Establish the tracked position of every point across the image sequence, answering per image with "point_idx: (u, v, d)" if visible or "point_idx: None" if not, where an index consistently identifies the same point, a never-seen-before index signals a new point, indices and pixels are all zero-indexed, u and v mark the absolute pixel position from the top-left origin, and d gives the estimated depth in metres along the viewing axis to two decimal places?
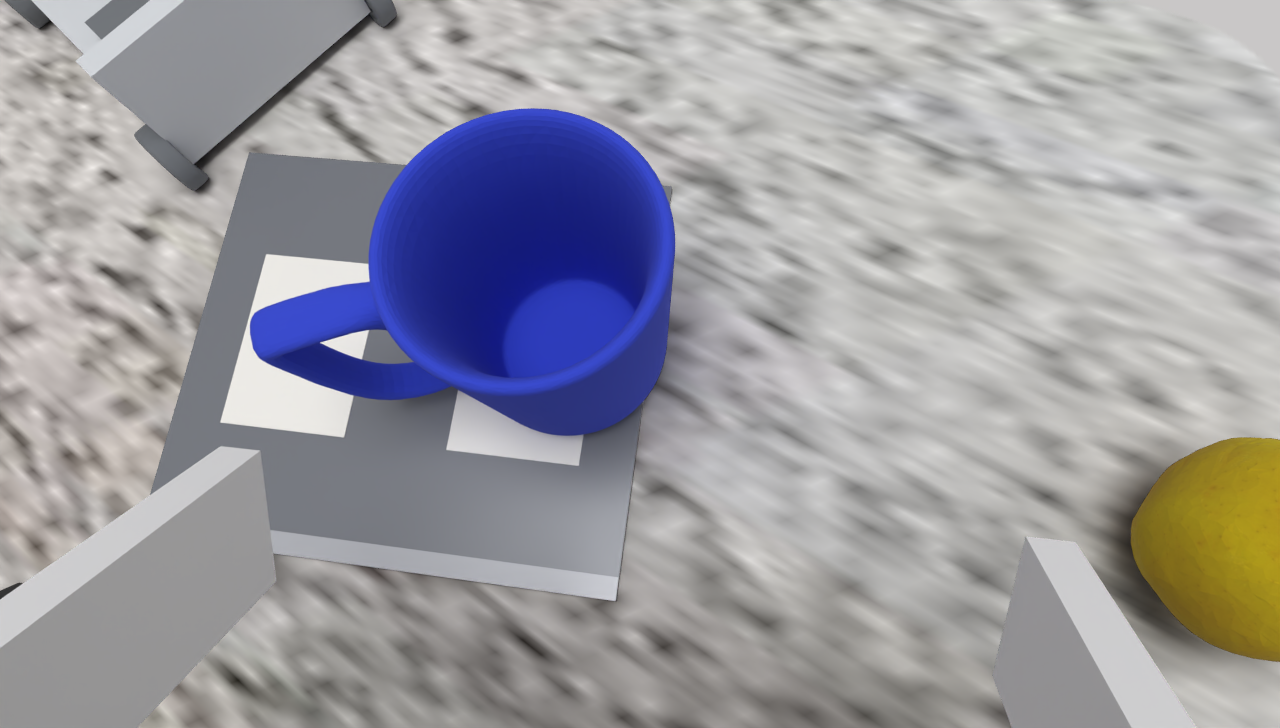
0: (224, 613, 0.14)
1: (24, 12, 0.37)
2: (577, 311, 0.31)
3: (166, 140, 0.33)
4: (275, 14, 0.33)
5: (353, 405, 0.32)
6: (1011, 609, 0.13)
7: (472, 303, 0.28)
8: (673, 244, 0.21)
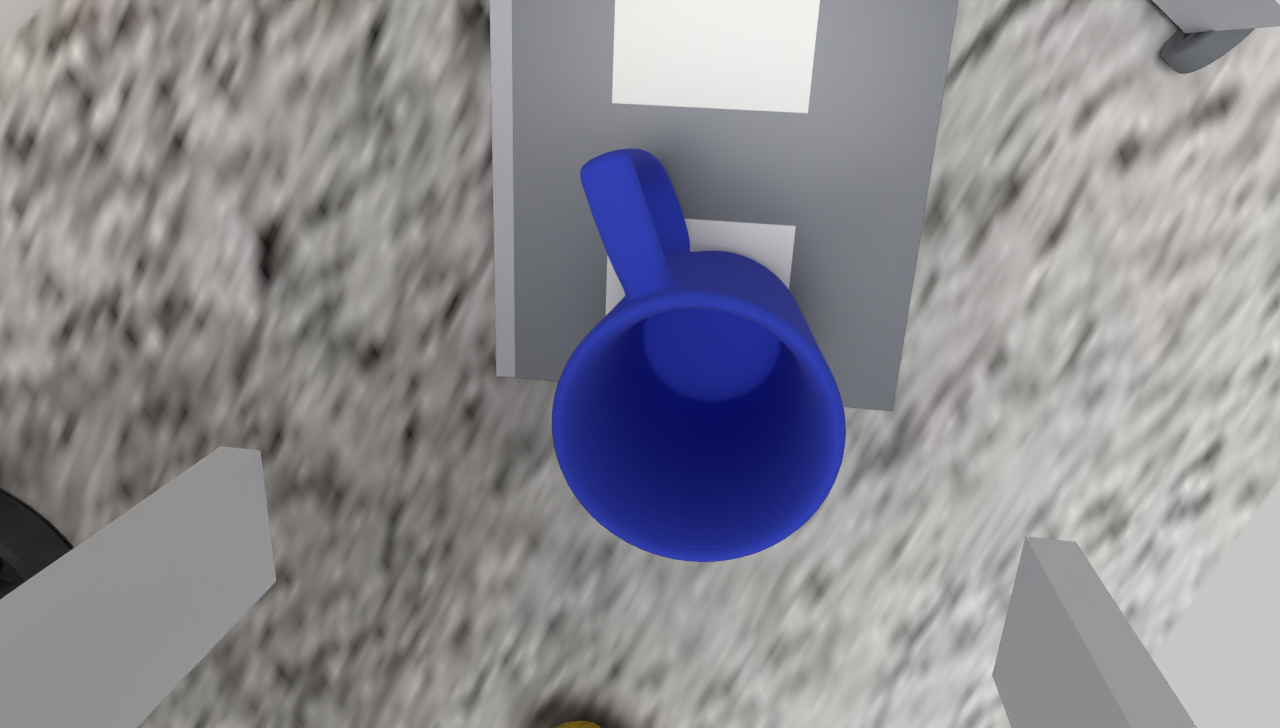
0: (224, 613, 0.14)
1: None
2: (747, 338, 0.31)
3: None
4: None
5: (647, 104, 0.30)
6: (1011, 609, 0.13)
7: None
8: (698, 561, 0.24)
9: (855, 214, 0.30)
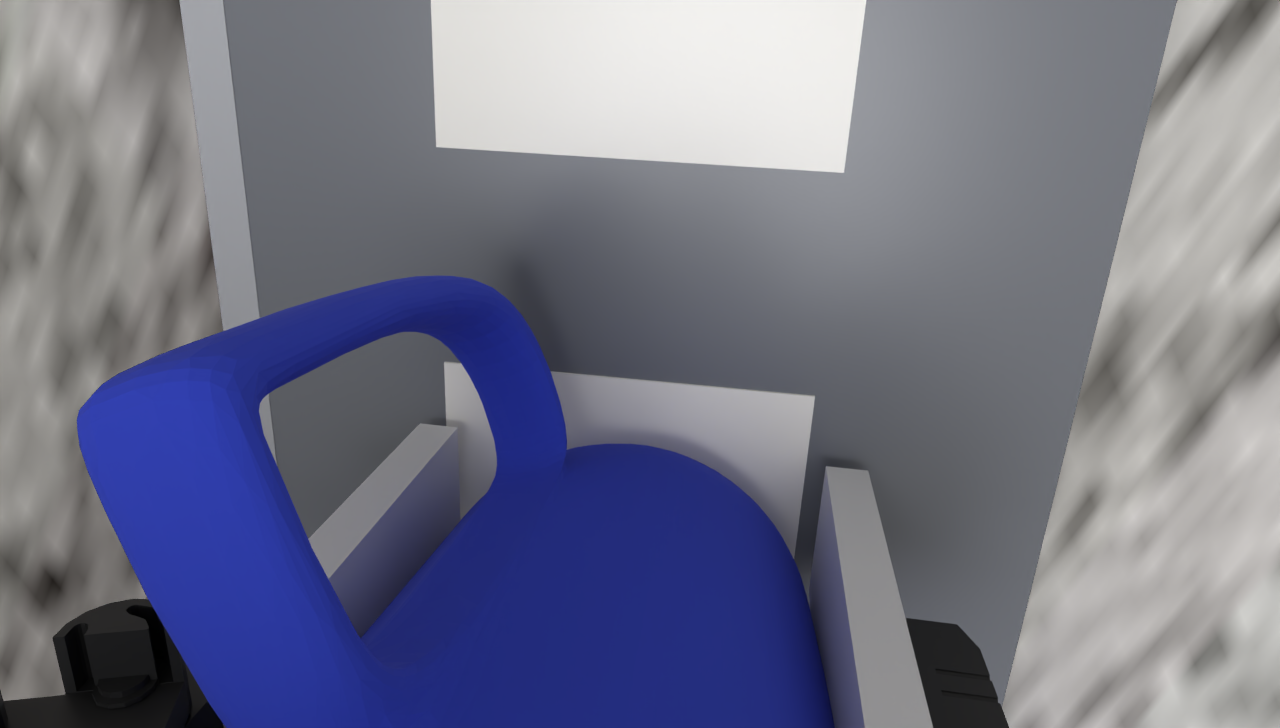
0: None
1: None
2: None
3: None
4: None
5: (511, 150, 0.15)
6: (817, 531, 0.15)
7: None
8: None
9: (938, 377, 0.15)
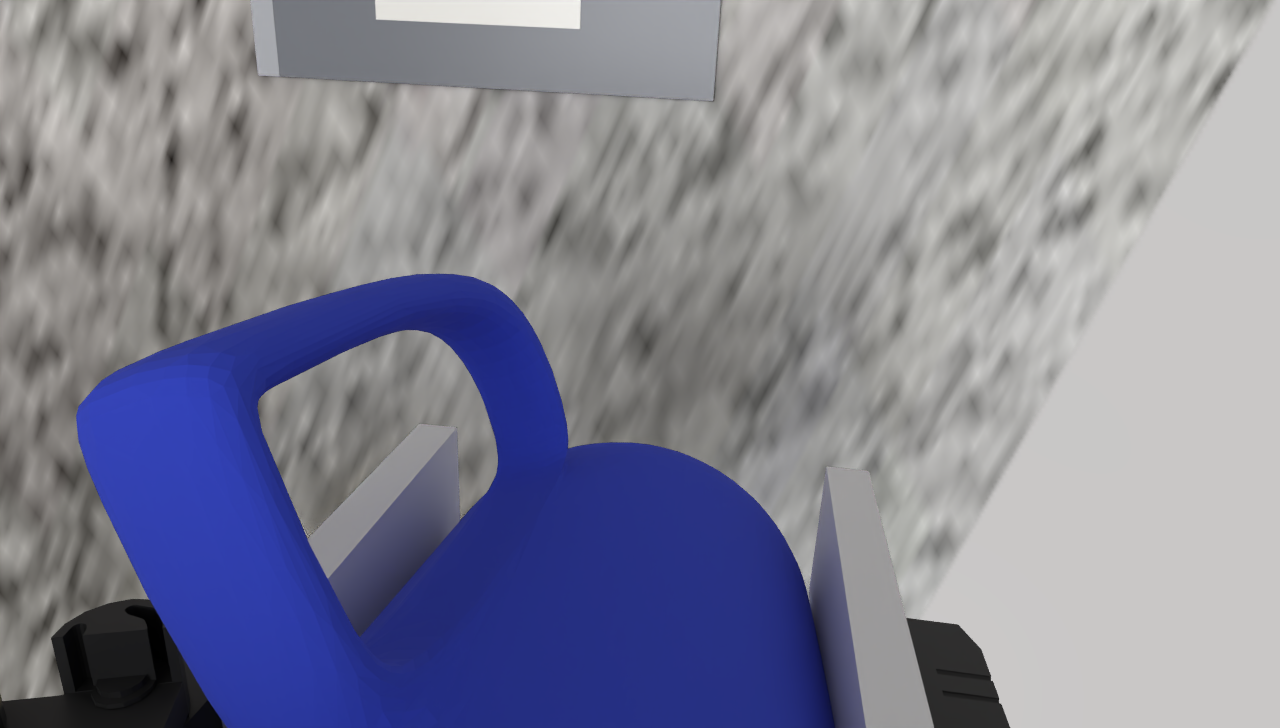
0: None
1: None
2: None
3: None
4: None
5: None
6: (818, 531, 0.15)
7: None
8: None
9: None
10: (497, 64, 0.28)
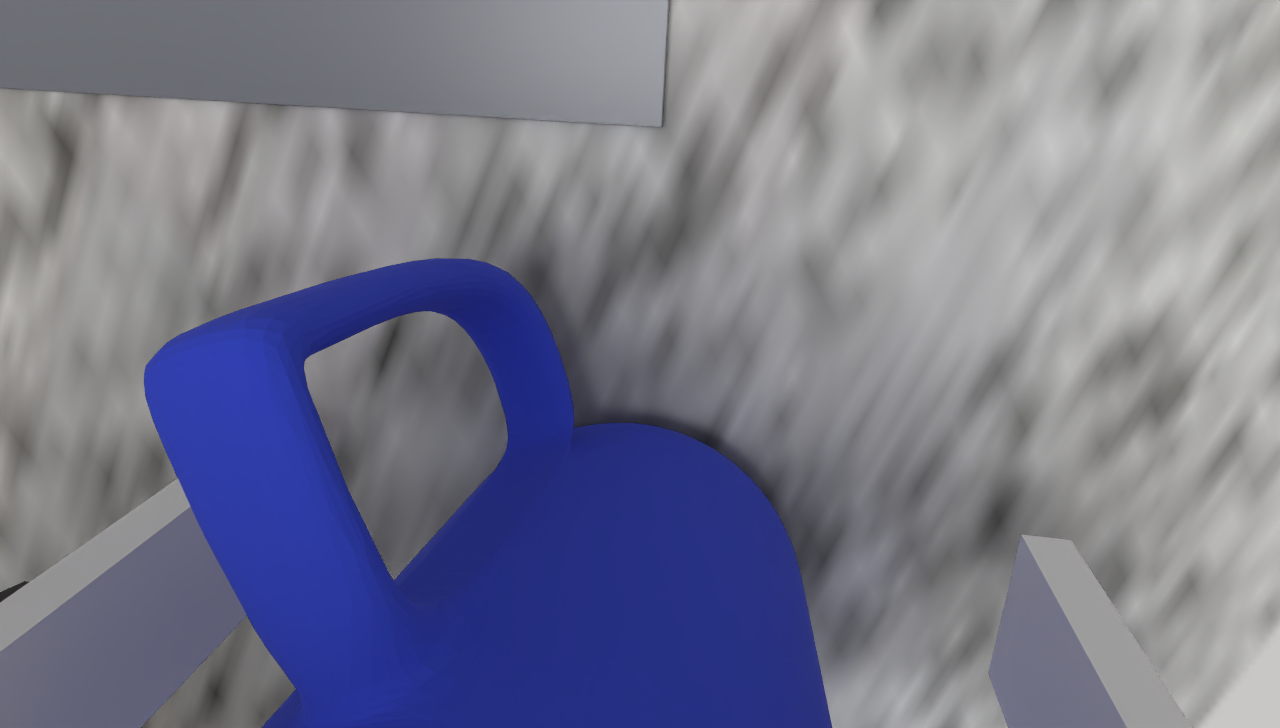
0: (229, 612, 0.14)
1: None
2: None
3: None
4: None
5: None
6: (1007, 607, 0.13)
7: None
8: None
9: None
10: (264, 59, 0.15)
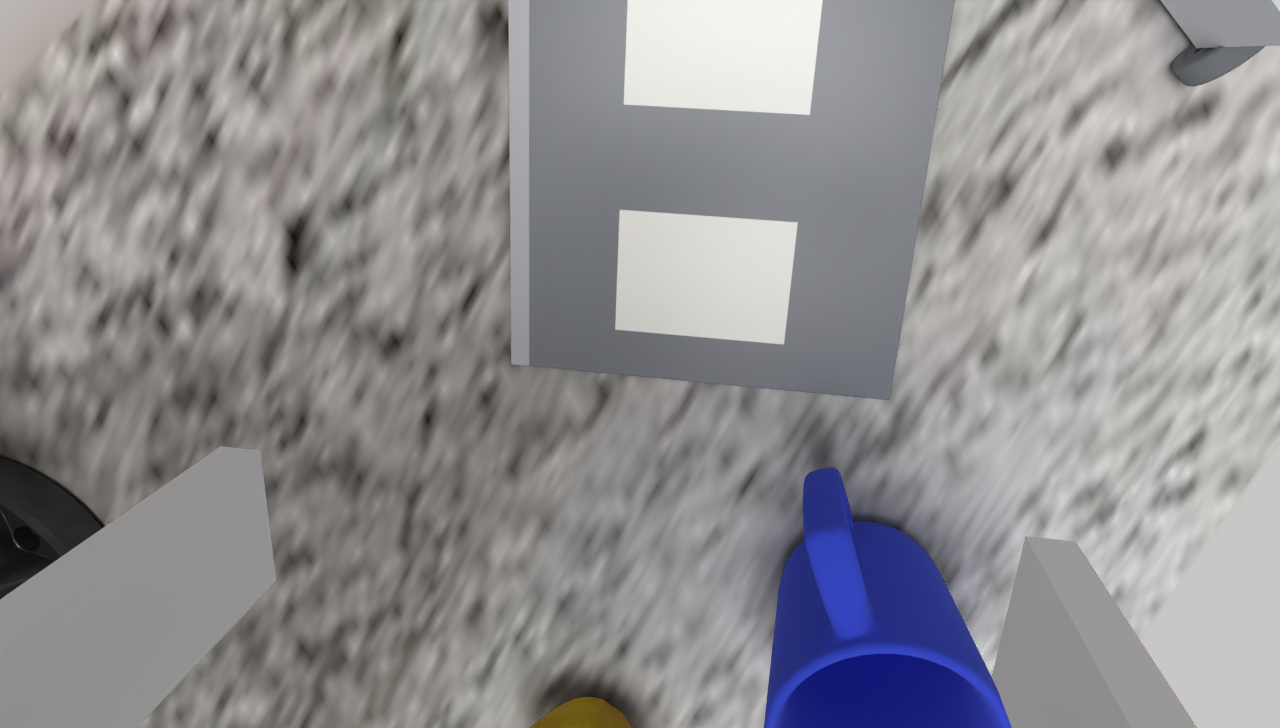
0: (225, 613, 0.14)
1: None
2: None
3: None
4: None
5: (657, 106, 0.32)
6: (1011, 609, 0.13)
7: None
8: None
9: (854, 211, 0.32)
10: (712, 365, 0.35)
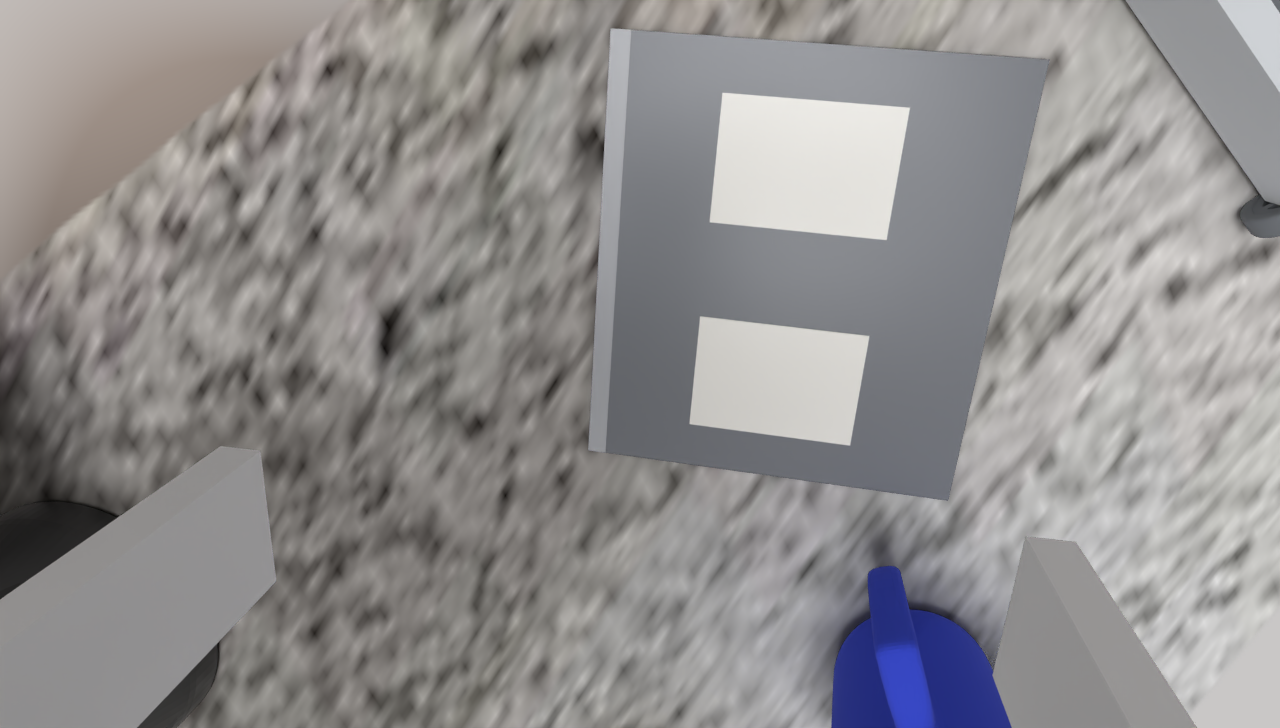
0: (224, 613, 0.14)
1: None
2: None
3: None
4: (1257, 132, 0.26)
5: (741, 224, 0.34)
6: (1011, 609, 0.13)
7: None
8: None
9: (924, 328, 0.34)
10: (780, 461, 0.37)
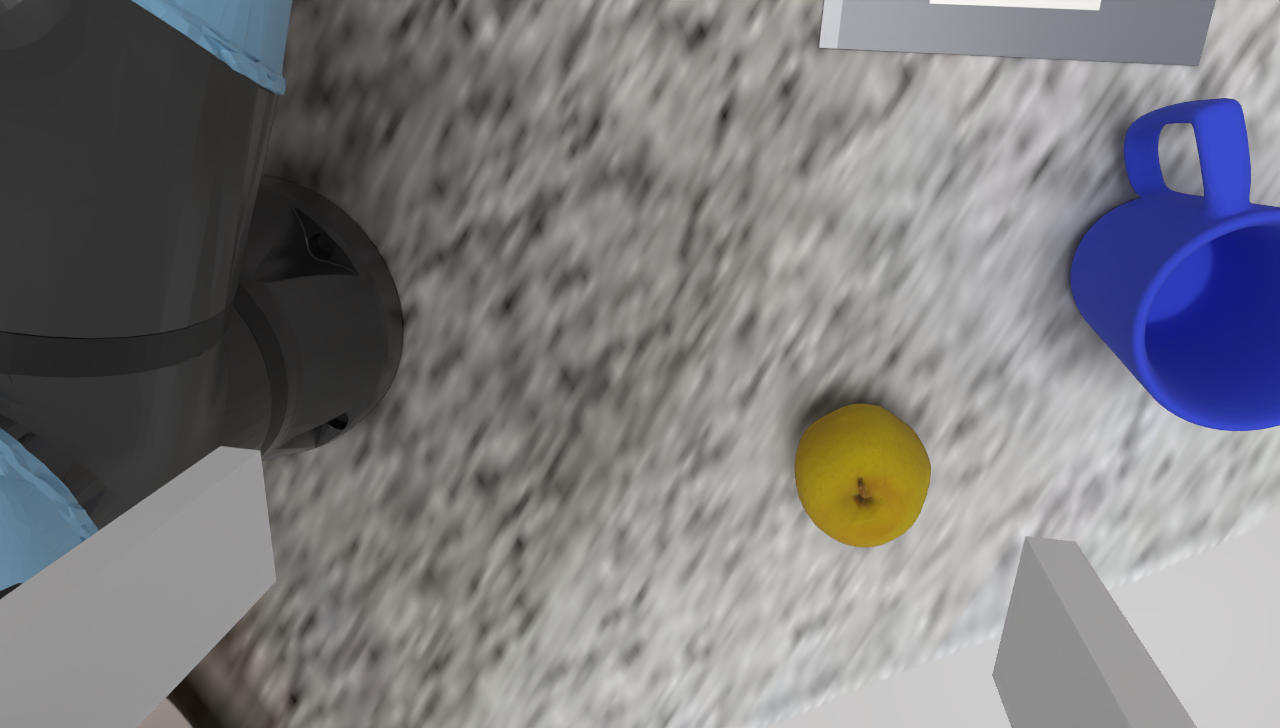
0: (225, 613, 0.14)
1: None
2: (1180, 269, 0.38)
3: None
4: None
5: None
6: (1011, 609, 0.13)
7: None
8: (1233, 430, 0.31)
9: None
10: (1023, 38, 0.36)
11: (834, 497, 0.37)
